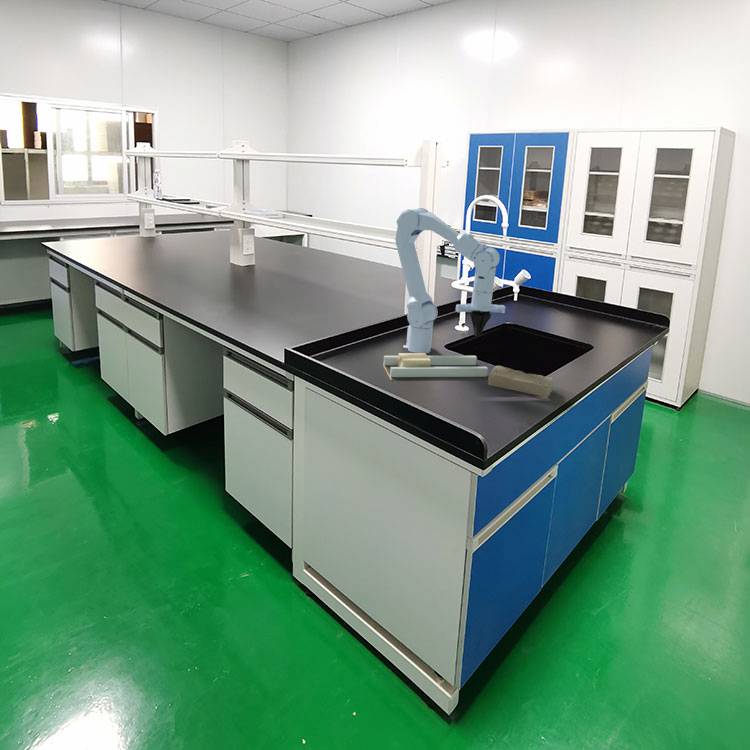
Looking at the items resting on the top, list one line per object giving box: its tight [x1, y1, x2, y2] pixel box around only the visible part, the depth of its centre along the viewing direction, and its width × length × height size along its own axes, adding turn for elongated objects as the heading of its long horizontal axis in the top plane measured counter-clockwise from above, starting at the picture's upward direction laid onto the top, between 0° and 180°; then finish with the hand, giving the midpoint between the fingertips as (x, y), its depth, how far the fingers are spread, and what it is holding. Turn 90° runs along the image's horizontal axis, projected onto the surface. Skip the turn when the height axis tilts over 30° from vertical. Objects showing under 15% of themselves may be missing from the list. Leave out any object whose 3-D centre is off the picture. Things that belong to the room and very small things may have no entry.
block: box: [396, 352, 431, 367], centre depth 171 cm, size 6×8×4 cm
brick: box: [487, 365, 554, 400], centre depth 165 cm, size 17×8×5 cm, turn 66°
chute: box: [382, 355, 489, 382], centre depth 173 cm, size 12×28×3 cm, turn 101°
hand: (477, 335), depth 178 cm, fingers closed
